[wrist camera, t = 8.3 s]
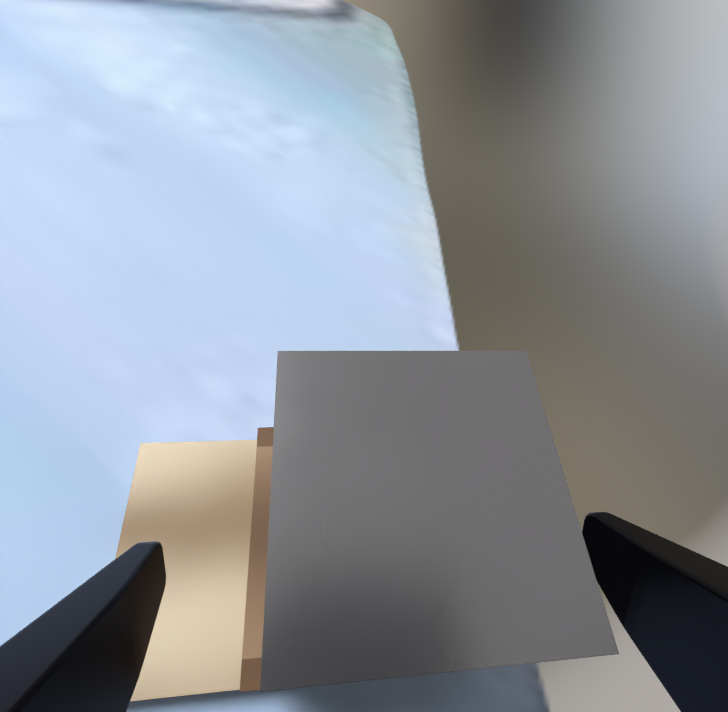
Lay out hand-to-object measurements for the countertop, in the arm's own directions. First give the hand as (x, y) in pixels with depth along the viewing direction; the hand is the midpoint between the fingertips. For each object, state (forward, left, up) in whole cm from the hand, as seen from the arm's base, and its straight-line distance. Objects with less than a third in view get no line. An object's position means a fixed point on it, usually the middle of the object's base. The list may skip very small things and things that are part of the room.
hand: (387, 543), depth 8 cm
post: (+1, 0, -8) cm, 8 cm away
